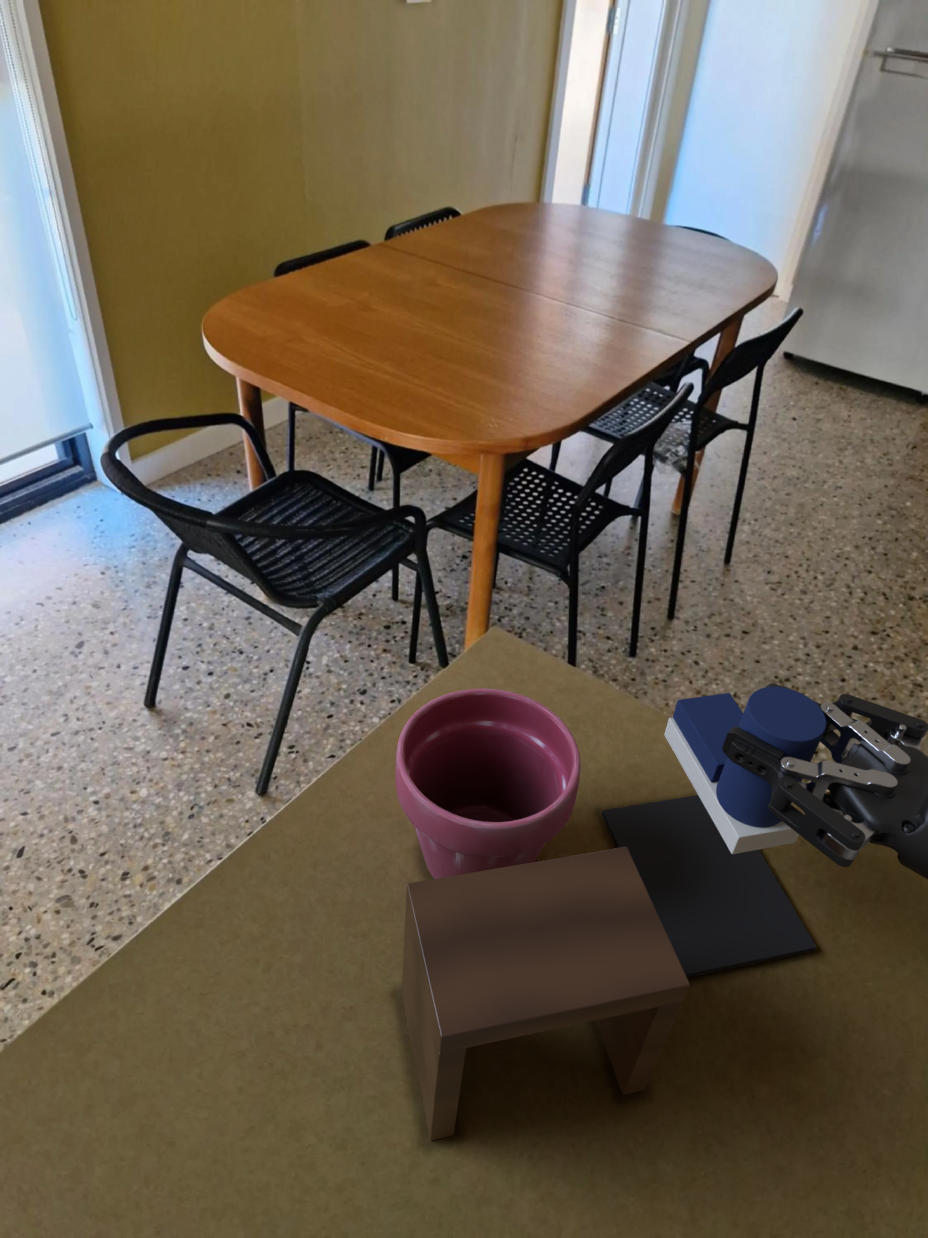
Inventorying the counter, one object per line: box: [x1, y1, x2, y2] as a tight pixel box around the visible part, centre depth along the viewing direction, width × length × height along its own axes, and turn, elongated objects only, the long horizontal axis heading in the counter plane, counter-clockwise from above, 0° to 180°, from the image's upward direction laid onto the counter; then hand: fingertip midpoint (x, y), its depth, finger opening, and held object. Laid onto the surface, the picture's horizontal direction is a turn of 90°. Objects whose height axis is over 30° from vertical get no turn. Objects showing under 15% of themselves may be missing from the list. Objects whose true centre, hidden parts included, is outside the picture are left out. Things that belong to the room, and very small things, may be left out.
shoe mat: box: [601, 794, 818, 979], centre depth 74 cm, size 16×12×1 cm
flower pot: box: [395, 688, 582, 879], centre depth 71 cm, size 14×14×13 cm
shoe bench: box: [401, 847, 691, 1141], centre depth 58 cm, size 10×15×14 cm, turn 104°
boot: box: [663, 686, 826, 854], centre depth 65 cm, size 12×5×11 cm, turn 14°
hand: (746, 716), depth 62 cm, fingers closed on boot, 5 cm apart
